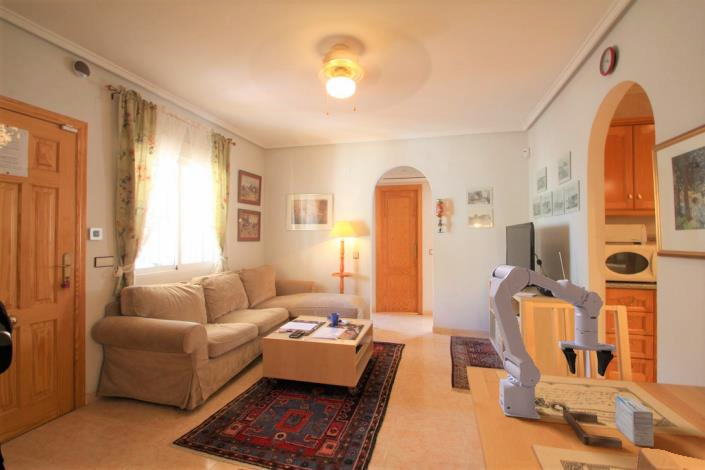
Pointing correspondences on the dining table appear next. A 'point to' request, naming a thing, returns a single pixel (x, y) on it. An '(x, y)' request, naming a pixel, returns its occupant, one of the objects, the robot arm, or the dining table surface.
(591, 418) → the walnut u-shaped bracket
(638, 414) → the medicine box
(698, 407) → the dining table surface
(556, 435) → the dining table surface
